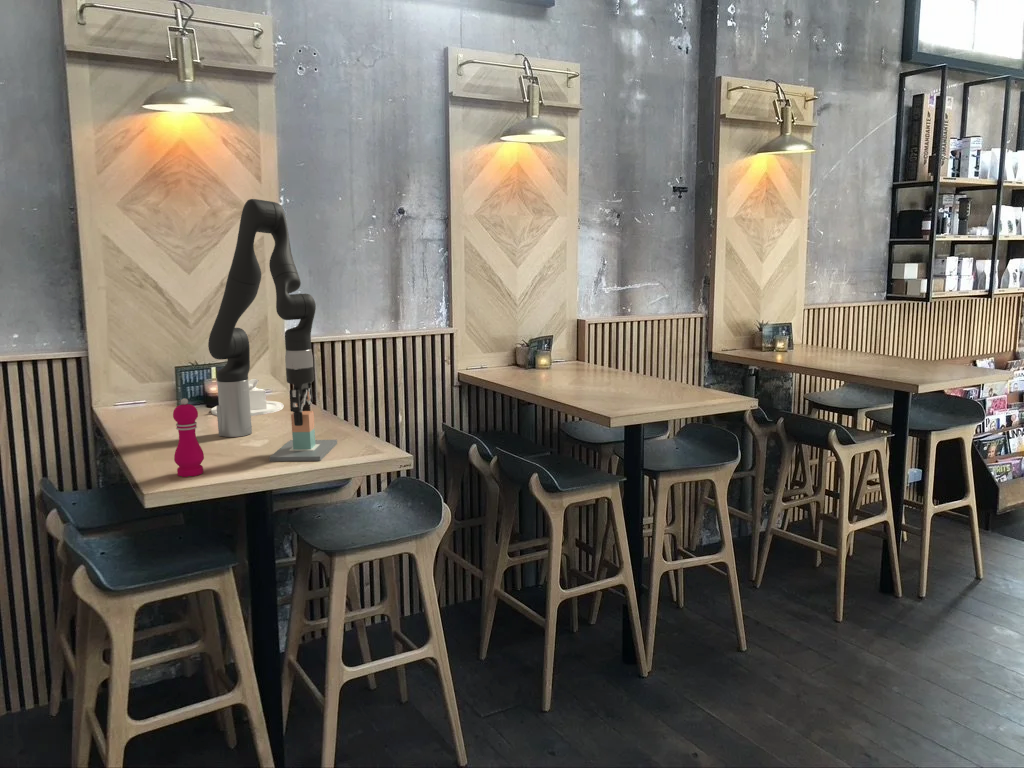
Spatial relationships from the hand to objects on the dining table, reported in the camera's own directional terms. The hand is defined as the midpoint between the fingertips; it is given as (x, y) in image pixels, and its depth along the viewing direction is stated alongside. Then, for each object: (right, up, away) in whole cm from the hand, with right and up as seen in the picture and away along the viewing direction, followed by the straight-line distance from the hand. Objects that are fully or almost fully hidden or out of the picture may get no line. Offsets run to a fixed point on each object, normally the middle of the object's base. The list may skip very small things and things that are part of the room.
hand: (302, 422), depth 240 cm
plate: (0, -9, +1) cm, 9 cm away
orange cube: (0, -2, 0) cm, 2 cm away
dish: (-36, +1, +66) cm, 75 cm away
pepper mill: (-24, -13, -20) cm, 34 cm away
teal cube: (0, -7, +1) cm, 7 cm away
